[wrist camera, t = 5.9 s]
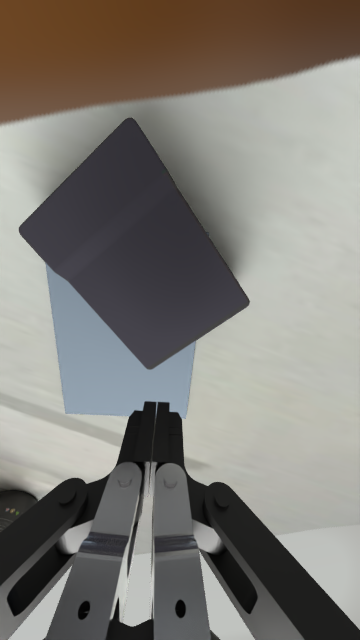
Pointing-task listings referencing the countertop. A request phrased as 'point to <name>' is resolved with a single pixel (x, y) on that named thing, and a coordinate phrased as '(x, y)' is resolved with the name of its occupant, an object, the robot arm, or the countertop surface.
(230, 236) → the countertop surface
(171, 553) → the robot arm
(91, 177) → the dark grey boxy piece
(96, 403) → the mat
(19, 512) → the supplement bottle
